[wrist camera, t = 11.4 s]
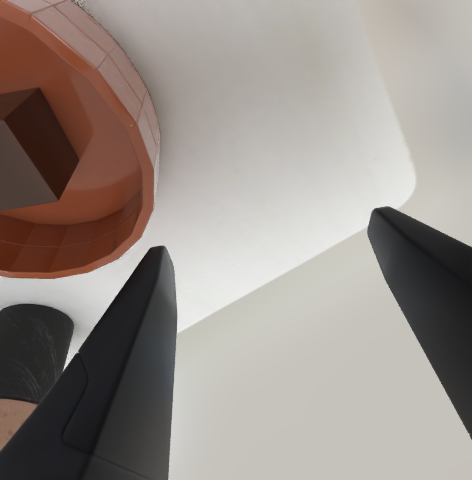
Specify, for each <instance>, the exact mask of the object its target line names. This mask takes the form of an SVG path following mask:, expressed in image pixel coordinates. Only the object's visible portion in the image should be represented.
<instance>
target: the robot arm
mask: <svg viewBox="0 0 472 480" xmlns="http://www.w3.org/2000/svg"><path fill="white" fill-rule="evenodd" d="M367 233H368V238H369V240H370V243H371V245H372V248H373V250H374V253H375V255H376V258H377V260H378V263H379V265H380V268H381V270H382V273H383V275H384V278H385V280H386V282H387V284H388V286H389V288H390V290H391V291H392V293H393V295H394V297H395V299H396V301H397V302H398V304H399V306H400V308H401V310H402V312H403V313H404V315H405V317H406V319H407V321H408V323H409V324H410V327H411V328H412V330H413V332H414V334H415V336H416V337H417V339H418V341H419V343H420V345H421V347H422V349H423V350H424V352H425V354H426V356H427V358H428V360H429V362H430V363H431V365H432V367H433V369H434V371H435V372H436V374H437V376H438V378H439V380H440V382H441V384H442V385H443V387H444V389H445V391H446V393H447V395H448V397H449V398H450V400H451V402H452V404H453V406H454V408H455V409H456V411H457V413H458V415H459V417H460V419H461V420H462V422H463V424H464V426H465V428H466V430H467V431H468V433H469V434H470V437H471V439H472V247H470V246H468V245H466V244H464V243H462V242H460V241H458V240H456V239H454V238H452V237H450V236H448V235H446V234H444V233H442V232H440V231H438V230H435V229H434V228H432V227H430V226H428V225H426V224H424V223H422V222H419V221H418V220H416V219H413V218H411V217H410V216H407V215H405V214H403V213H401V212H399V211H397V210H395V209H393V208H391V207H388V206H386V207H380V208H375V209H374V210H373V211H372V213H371V217H370V221H369V225H368V231H367ZM176 333H177V304H176V289H175V274H174V266H173V263H172V260H171V258H170V256H169V253H168V251H167V249H166V247H165V246H156V247H152V248H150V249H149V250H148V252H147V253H146V254H145V256H144V257H143V259H142V260H141V262H140V263H139V264H138V266H137V267H136V269H135V270H134V272H133V273H132V274H131V276H130V277H129V279H128V280H127V282H126V283H125V284H124V286H123V287H122V289H121V290H120V292H119V293H118V294H117V296H116V297H115V299H114V300H113V302H112V303H111V304H110V306H109V307H108V309H107V310H106V312H105V313H104V314H103V316H102V317H101V319H100V320H99V322H98V323H97V324H96V326H95V327H94V329H93V330H92V332H91V333H90V334H89V336H88V337H87V339H86V340H85V342H84V343H83V344H82V346H81V347H80V349H79V351H78V352H79V353H76V354H75V356H74V357H73V359H72V360H71V361H70V363H69V364H68V366H67V367H66V368H65V370H64V371H63V373H62V374H61V375H60V377H59V378H58V379H57V381H56V382H55V383H54V385H53V386H52V388H51V389H50V390H49V391H48V393H47V394H46V395H45V396H44V398H43V399H42V400H41V402H40V403H39V404H38V405H37V407H36V408H35V409H34V410H33V412H32V413H31V414H30V415H29V417H28V418H27V419H26V420H25V421H24V423H23V424H22V425H21V426H20V427H19V429H18V430H17V431H16V432H15V434H14V435H13V436H12V437H11V438H10V440H9V441H8V442H7V443H6V444H5V446H4V447H3V448H2V449H1V451H0V480H168V472H169V455H170V454H169V453H170V437H171V420H172V402H173V384H174V368H175V367H174V366H175V350H176Z"/></svg>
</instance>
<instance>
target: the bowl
mask: <svg viewBox="0 0 472 480" xmlns="http://www.w3.org/2000/svg"><path fill="white" fill-rule="evenodd" d="M33 88H40V89H41V91H42V93H43V95H44V96H45V98H46V100H47V102H48V104H49V106H50V107H51V109H52V111H53V113H54V115H55V116H56V118H57V120H58V122H59V124H60V126H61V127H62V129H63V131H64V133H65V135H66V136H67V138H68V140H69V142H70V144H71V145H72V147H73V149H74V151H75V153H76V155H77V156H78V158H79V160H80V161H79V163H78V165H77V167H76V169H75V171H74V173H73V175H72V177H71V178H70V180H69V182H68V184H67V186H66V188H65V190H64V192H63V194H62V196H61V198H60V200H59V201H57V202H51V203H45V204H40V205H34V206H28V207H23V208H17V209H11V210H6V211H0V276H3V277H8V278H39V279H55V278H60V277H66V276H72V275H77V274H83V273H88V272H91V271H93V270H95V269H97V268H100V267H102V266H104V265H106V264H108V263H111V262H113V261H115V260H117V259H118V258H120V257H121V256H122V255H123V254H124V253H125V252H126V251H127V250H128V249H129V248H130V247H131V246H132V245H134V244H135V243H136V242H137V241H138V240H139V239H140V238H141V237H142V235H143V232H144V230H145V228H146V225H147V223H148V221H149V219H150V216H151V214H152V212H153V209H154V204H155V196H156V188H157V180H158V173H159V160H160V130H159V126H158V121H157V117H156V113H155V109H154V106H153V103H152V101H151V98H150V95H149V93H148V90H147V88H146V87H145V85H144V83H143V81H142V79H141V77H140V75H139V73H138V71H137V70H136V68H135V67H134V65H133V64H132V62H131V61H130V59H129V58H128V56H127V55H126V53H125V52H124V51H123V50H122V49H121V47H120V46H119V45H118V44H117V42H116V41H115V40H114V39H113V38H112V36H111V35H110V34H109V33H108V32H107V31H106V30H105V29H104V28H103V27H102V26H101V25H100V24H99V23H98V22H97V21H96V20H95V19H94V18H93V17H91V16H90V15H89V14H88V13H87V12H85V11H84V10H83V9H82V8H80V7H79V6H78V5H77V4H75V3H74V2H73V1H72V0H0V94H4V93H10V92H16V91H21V90H27V89H33Z"/></svg>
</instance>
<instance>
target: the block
mask: <svg viewBox="0 0 472 480" xmlns="http://www.w3.org/2000/svg"><path fill="white" fill-rule="evenodd" d="M79 161H80V160H79V158H78V156H77V155H76V153H75V151H74V149H73V147H72V145H71V144H70V142H69V140H68V138H67V136H66V135H65V133H64V131H63V129H62V127H61V126H60V124H59V122H58V120H57V118H56V116H55V115H54V113H53V111H52V109H51V107H50V106H49V104H48V102H47V100H46V98H45V96H44V95H43V93H42V91H41V89H40V88H33V89H27V90H21V91H16V92H10V93H4V94H0V211H6V210H11V209H17V208H23V207H28V206H34V205H40V204H45V203H51V202H57V201H59V200H60V198H61V196H62V194H63V192H64V190H65V188H66V186H67V184H68V182H69V180H70V178H71V177H72V175H73V173H74V171H75V169H76V167H77V165H78V163H79Z"/></svg>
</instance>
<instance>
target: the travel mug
mask: <svg viewBox="0 0 472 480" xmlns="http://www.w3.org/2000/svg"><path fill="white" fill-rule="evenodd" d="M73 329H74V325H73V322H72V320H71V319H70V318H69V317H68V316H67V315H65V314H64V313H62V312H60V311H58V310H55V309H52V308H49V307H45V306H40V305H29V304H25V305H15V306H11V307H7V308H5V309H3V310H2V311H0V451H1V449H2V448H3V447H4V446H5V444H6V443H7V442H8V441H9V440H10V438H11V437H12V436H13V435H14V434H15V432H16V431H17V430H18V429H19V427H20V426H21V425H22V424H23V423H24V421H25V420H26V419H27V418H28V417H29V415H30V414H31V413H32V412H33V410H34V409H35V408H36V407H37V405H38V404H39V403H40V402H41V400H42V399H43V398H44V396H45V395H46V394H47V393H48V391H49V390H50V389H51V388H52V386H53V385H54V383H55V382H56V381H57V379H58V378H59V377H60V375H61V374H62V373H63V369H64V365H65V361H66V357H67V354H68V350H69V346H70V342H71V338H72V334H73Z"/></svg>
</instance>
